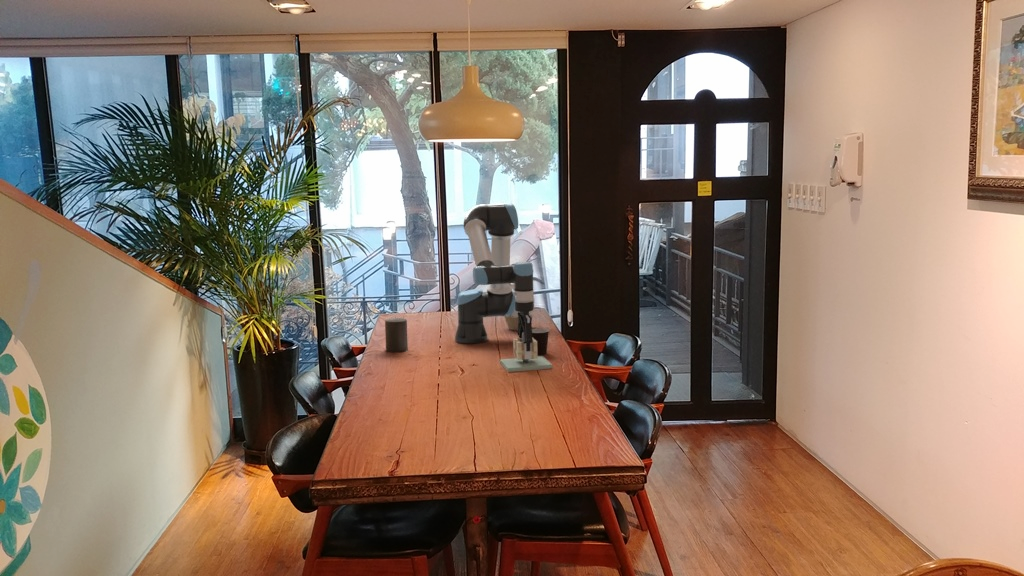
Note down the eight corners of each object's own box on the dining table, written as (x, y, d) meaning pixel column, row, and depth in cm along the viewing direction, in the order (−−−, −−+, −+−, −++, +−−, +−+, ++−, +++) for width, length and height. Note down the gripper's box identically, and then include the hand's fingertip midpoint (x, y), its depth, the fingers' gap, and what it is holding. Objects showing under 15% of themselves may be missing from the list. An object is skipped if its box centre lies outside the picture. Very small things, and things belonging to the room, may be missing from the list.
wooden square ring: (513, 355, 328) (513, 338, 327) (532, 354, 329) (532, 337, 328) (518, 360, 320) (517, 342, 319) (537, 358, 322) (537, 341, 321)
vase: (515, 324, 408) (514, 279, 405) (541, 327, 399) (540, 281, 395) (496, 329, 396) (495, 284, 392) (522, 333, 386) (521, 286, 383)
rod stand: (500, 362, 331) (499, 330, 329) (542, 359, 334) (541, 327, 332) (507, 371, 316) (507, 338, 314) (552, 368, 320) (551, 335, 318)
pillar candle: (393, 353, 352) (392, 319, 350) (381, 349, 359) (380, 316, 357) (412, 349, 358) (411, 316, 356) (400, 346, 366) (399, 314, 363)
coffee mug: (547, 356, 340) (547, 333, 338) (527, 355, 342) (526, 332, 340) (551, 349, 351) (551, 327, 350) (532, 349, 353) (531, 327, 351)
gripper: (509, 297, 330) (510, 351, 334) (521, 305, 310) (522, 363, 314) (527, 296, 332) (528, 349, 336) (539, 304, 312) (541, 361, 315)
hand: (525, 356), depth 325 cm, fingers closed on wooden square ring, 8 cm apart
